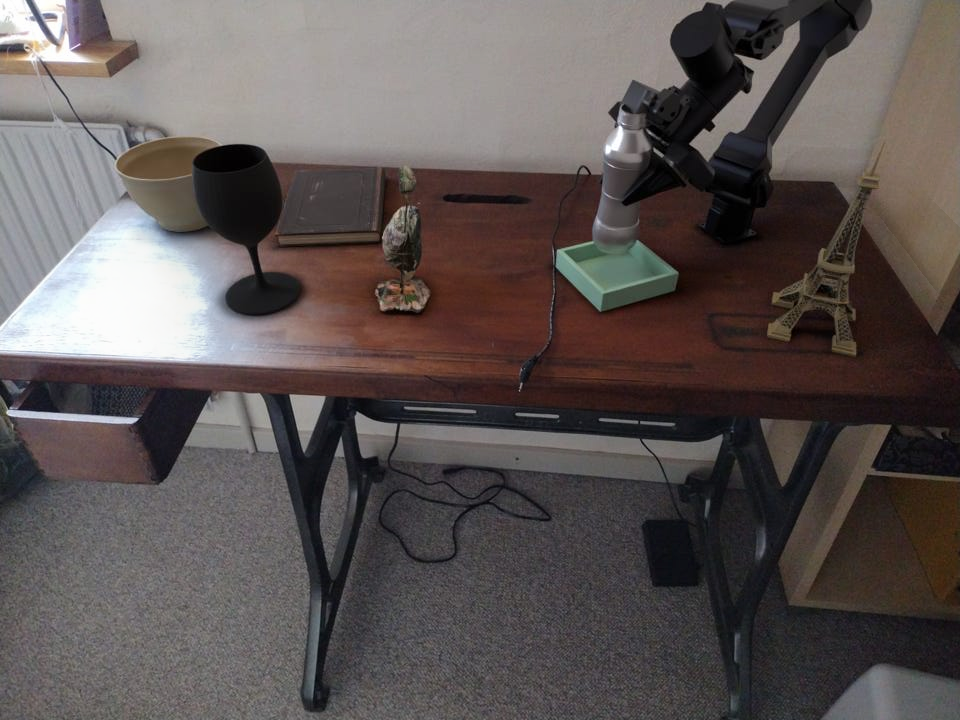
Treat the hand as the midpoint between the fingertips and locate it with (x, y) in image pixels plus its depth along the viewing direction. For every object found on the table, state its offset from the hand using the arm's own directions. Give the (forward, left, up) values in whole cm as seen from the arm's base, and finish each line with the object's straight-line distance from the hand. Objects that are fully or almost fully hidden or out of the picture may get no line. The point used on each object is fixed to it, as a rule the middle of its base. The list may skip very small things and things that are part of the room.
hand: (611, 193), depth 89 cm
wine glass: (+45, -16, -13) cm, 50 cm away
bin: (-2, +1, -13) cm, 13 cm away
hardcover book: (+30, -36, -13) cm, 48 cm away
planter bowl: (+52, -43, -13) cm, 69 cm away
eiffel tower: (-20, +21, -13) cm, 32 cm away
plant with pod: (+27, -8, -13) cm, 31 cm away
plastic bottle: (-2, 0, -9) cm, 9 cm away
